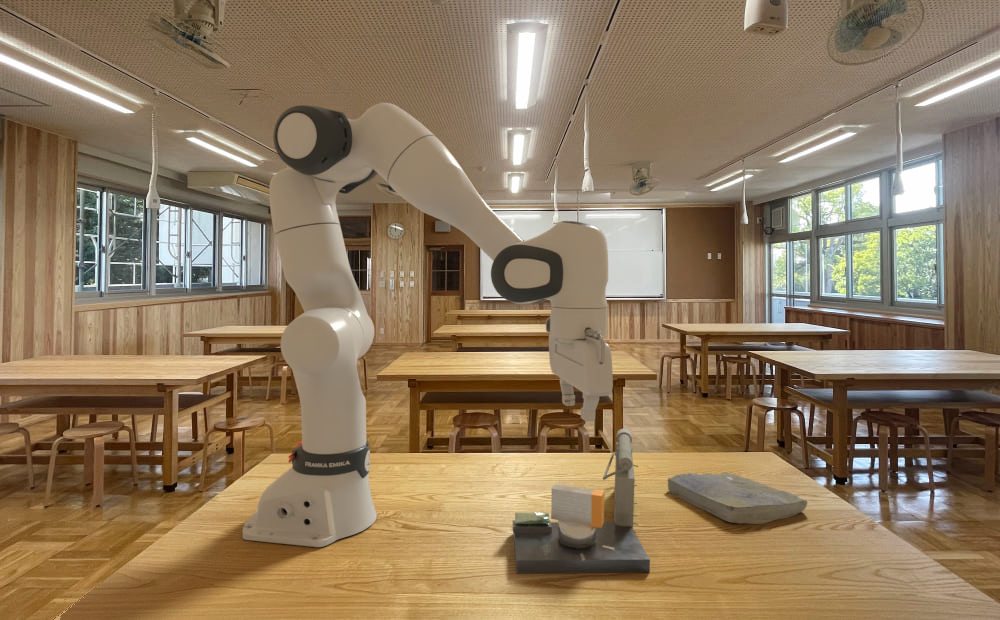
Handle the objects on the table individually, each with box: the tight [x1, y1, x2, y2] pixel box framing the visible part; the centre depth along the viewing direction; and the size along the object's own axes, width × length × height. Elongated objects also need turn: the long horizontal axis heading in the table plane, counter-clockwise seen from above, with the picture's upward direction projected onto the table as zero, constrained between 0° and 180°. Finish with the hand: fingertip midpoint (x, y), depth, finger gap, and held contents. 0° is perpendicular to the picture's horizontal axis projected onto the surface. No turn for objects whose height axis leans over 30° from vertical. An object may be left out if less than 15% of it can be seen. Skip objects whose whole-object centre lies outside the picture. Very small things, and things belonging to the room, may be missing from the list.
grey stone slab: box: [667, 472, 808, 525], centre depth 102 cm, size 20×5×17 cm
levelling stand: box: [512, 511, 651, 574], centre depth 83 cm, size 20×12×5 cm, turn 91°
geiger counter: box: [602, 428, 639, 530], centre depth 100 cm, size 14×6×25 cm
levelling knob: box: [550, 483, 605, 548], centre depth 83 cm, size 8×6×8 cm
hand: (577, 412), depth 82 cm, fingers open, 8 cm apart
